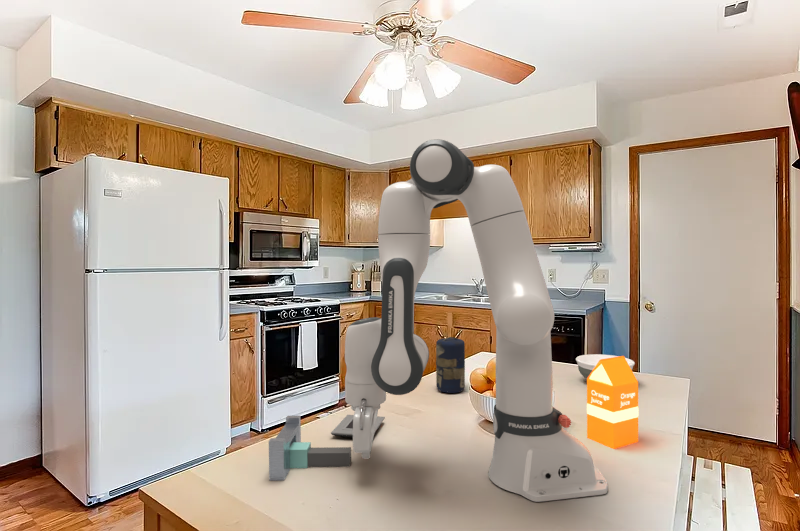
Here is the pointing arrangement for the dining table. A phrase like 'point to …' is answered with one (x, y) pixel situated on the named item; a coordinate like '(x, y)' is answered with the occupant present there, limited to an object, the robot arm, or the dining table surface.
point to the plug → (318, 456)
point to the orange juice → (612, 403)
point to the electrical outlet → (351, 426)
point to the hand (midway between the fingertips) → (366, 455)
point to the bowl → (594, 363)
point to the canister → (450, 365)
